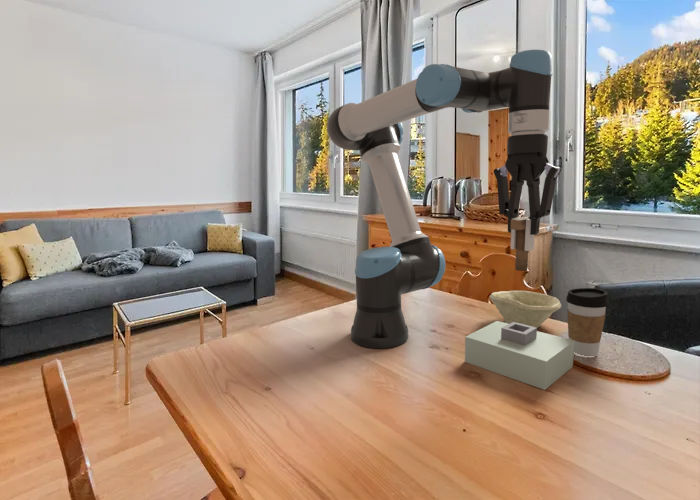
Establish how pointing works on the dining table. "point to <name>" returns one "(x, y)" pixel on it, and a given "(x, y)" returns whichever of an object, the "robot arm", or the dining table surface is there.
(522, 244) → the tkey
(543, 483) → the dining table surface
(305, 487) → the dining table surface
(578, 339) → the coffee cup
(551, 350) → the socket box
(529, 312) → the bowl
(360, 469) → the dining table surface
